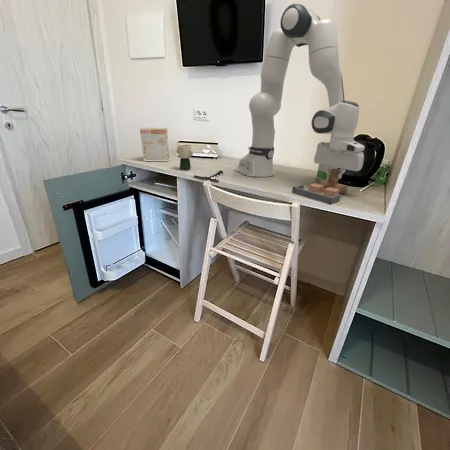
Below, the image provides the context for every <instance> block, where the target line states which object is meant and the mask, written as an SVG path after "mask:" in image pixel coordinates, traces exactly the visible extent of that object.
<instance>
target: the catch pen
mask: <svg viewBox="0 0 450 450" xmlns="http://www.w3.org/2000/svg"><path fill="white" fill-rule="evenodd" d="M304 187H305V184H303V183H301V184H299V185H294V186H292V190H291V193H292V194H295V195H299V196H301V197H305V198H309V199H312V200H315V201H318V202H321V203H324V204H328V205H332V204H335V203H338V202H340V201H341V196H342V194H341V193H339V194H338V195H335V196H332V197H329V196H325V195H323V194H321V193H315V192H311V191H309V189H308V190H307V189H304Z"/></svg>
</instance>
